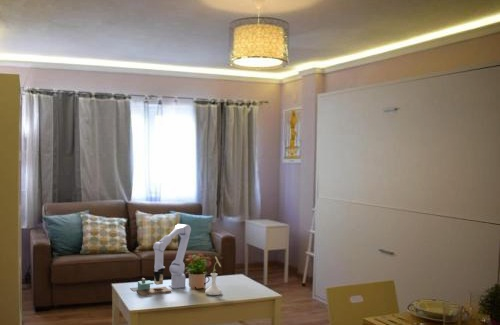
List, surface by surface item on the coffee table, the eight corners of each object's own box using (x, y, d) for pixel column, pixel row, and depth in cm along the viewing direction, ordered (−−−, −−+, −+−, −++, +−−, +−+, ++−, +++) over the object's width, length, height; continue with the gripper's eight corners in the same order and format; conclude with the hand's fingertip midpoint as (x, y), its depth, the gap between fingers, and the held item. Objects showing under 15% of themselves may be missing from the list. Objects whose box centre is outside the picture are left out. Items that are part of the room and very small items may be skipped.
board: (165, 288, 355) (165, 286, 355) (171, 292, 345) (171, 290, 345) (136, 291, 345) (136, 289, 345) (142, 295, 335) (142, 293, 335)
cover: (149, 288, 348) (149, 276, 348) (153, 291, 340) (153, 279, 340) (137, 289, 344) (137, 277, 344) (141, 292, 337) (141, 280, 337)
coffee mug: (190, 287, 361) (191, 273, 361) (201, 285, 366) (201, 271, 366) (199, 290, 352) (199, 276, 352) (210, 289, 357) (210, 274, 357)
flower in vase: (219, 297, 337) (220, 259, 337) (202, 295, 339) (203, 258, 339) (224, 292, 350) (225, 255, 350) (208, 291, 352) (209, 254, 352)
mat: (143, 287, 358) (143, 286, 358) (147, 289, 351) (147, 289, 351) (129, 288, 353) (129, 288, 353) (133, 291, 346) (133, 290, 346)
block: (160, 282, 349) (160, 273, 349) (162, 284, 346) (162, 275, 346) (154, 283, 347) (154, 274, 347) (156, 284, 343) (156, 275, 343)
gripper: (162, 262, 339) (161, 282, 339) (167, 258, 353) (167, 277, 353) (151, 261, 339) (151, 282, 339) (157, 257, 354) (157, 277, 354)
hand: (158, 280), depth 346 cm, fingers closed on block, 6 cm apart
